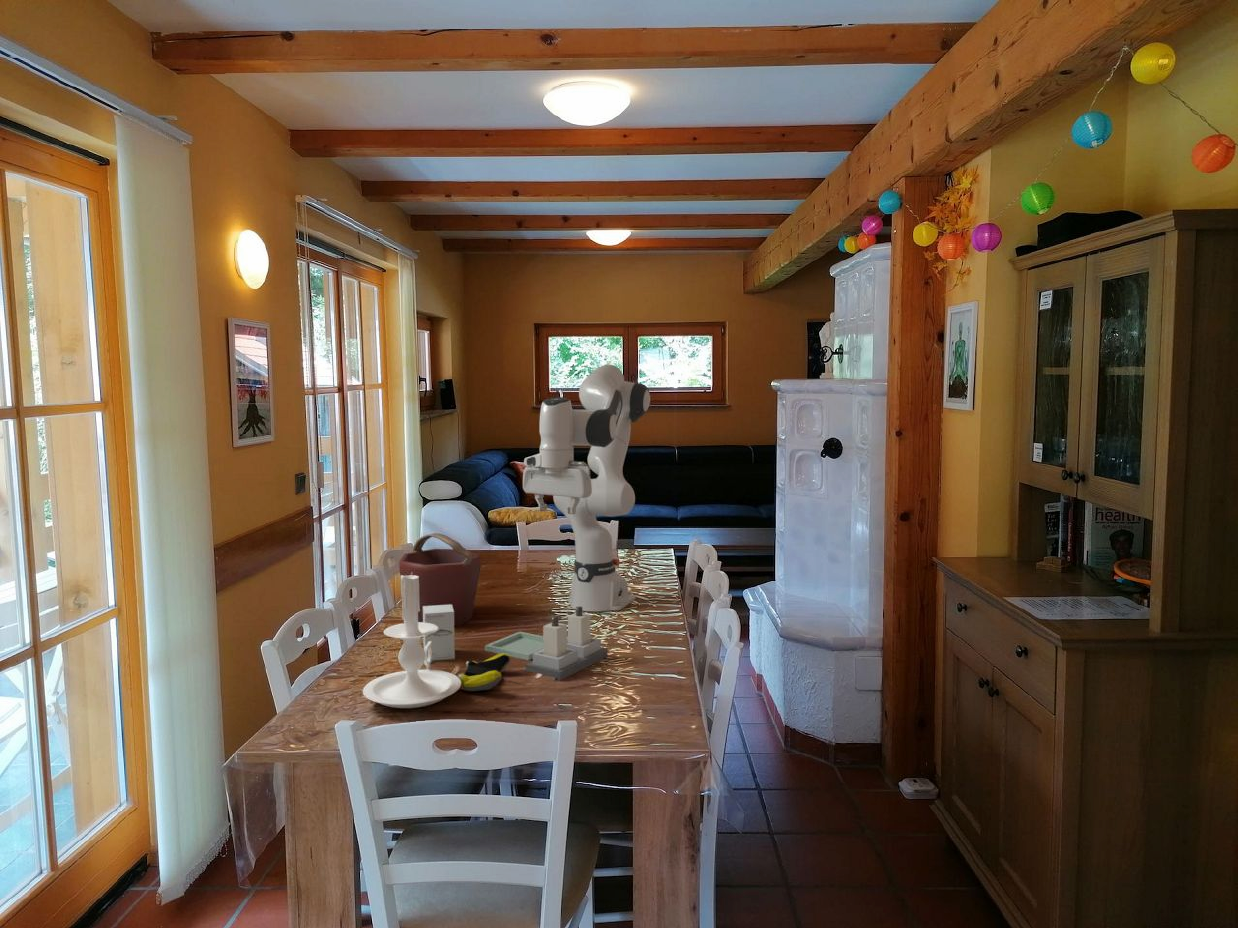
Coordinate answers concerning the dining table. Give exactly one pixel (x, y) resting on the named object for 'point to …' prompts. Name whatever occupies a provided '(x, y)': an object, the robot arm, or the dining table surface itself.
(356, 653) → the dining table surface
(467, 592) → the bucket
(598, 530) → the robot arm
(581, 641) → the plug
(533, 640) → the tray
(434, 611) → the supplement box
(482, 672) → the yellow black curved piece
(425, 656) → the candlestick
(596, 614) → the dining table surface
